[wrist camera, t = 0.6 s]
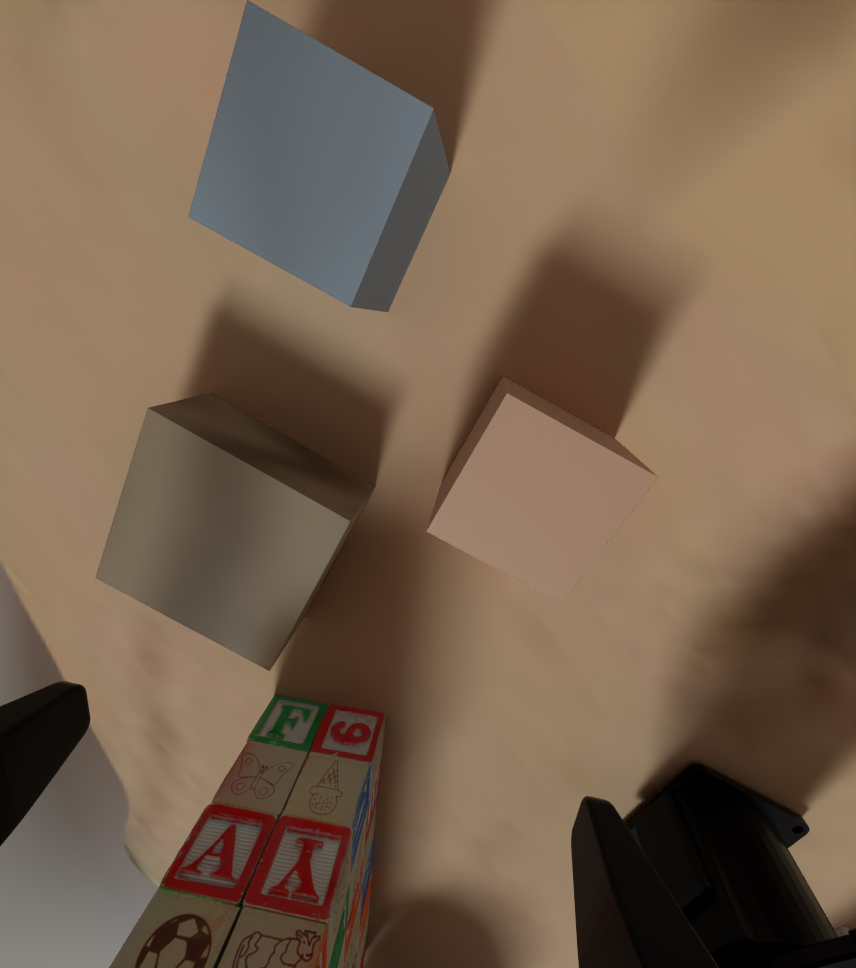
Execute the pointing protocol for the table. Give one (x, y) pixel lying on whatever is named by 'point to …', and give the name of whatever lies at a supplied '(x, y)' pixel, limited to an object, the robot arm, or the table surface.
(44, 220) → the table surface
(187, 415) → the taupe faceted block
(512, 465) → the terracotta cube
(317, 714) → the stack of blocks
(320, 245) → the slate cube
